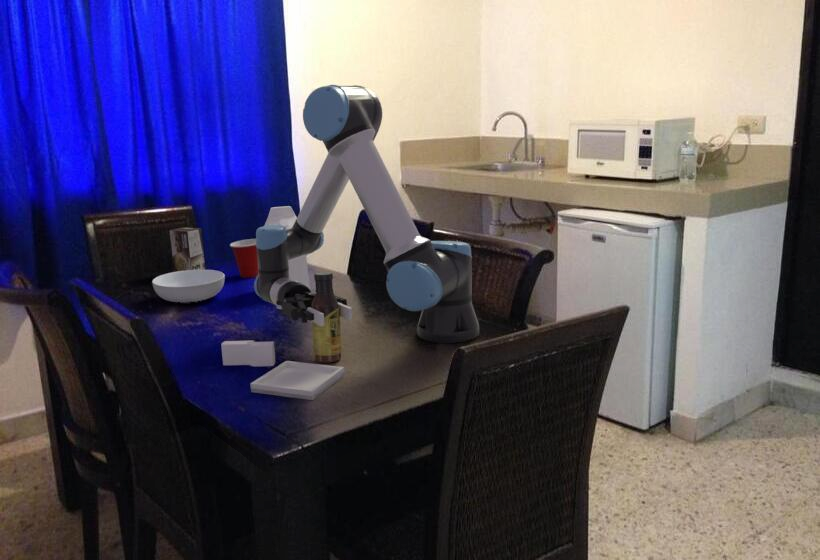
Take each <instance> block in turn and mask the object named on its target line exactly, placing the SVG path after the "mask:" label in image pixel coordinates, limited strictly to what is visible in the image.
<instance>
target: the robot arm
mask: <svg viewBox="0 0 820 560" xmlns="http://www.w3.org/2000/svg"><path fill="white" fill-rule="evenodd" d="M302 119H303V120H302V122H303V124H304V128H305V129H306V131H307V132H308V134H309V135H310V136H311V137H312V138H314V139H316V140H318V141H320V142H322V143H323V145H324V146H325V149H326V150H327V155H326V157H325V160H324V161H323V164H322V165H321V168H320V170H319V171H318V173H317V176H316V178H315V180H314V181H313V184H312V186H311V188H310V190H309V193H308V194H307V196H306V198H305V201H304V203H303V205H302V206H301V209H300V211H299V213H298V216H296V217H297V219H296V221H295V223H294V225H293V227H292V228H291V229H288V230H286V228H285V227H284V226H280V225H270V226H264V225H263V226H260V227H258V228H257V229H256V232H255V236H256V237H255V239H256V247H257V258H258V269H259V271H258V276H256V277H255V280H254V283H253V288H254V292H255V294H256V296H259V298H260V299H262V301H264V302H267V303H271V304H272V305H274V306H276V312H277V313H282V314H283V315H285V316H286V317H288V318H289V319H291V320H293V321H295V322H296V321H298V320H299V319H300V318H301V324H302V323H303V324H305V323H308V321H309V322H311V323H312V322H314V323H316V324H318V325H320V326H325V325H324V313H321V312H319V311H317V310H315V309H313V308H312V301H313V298H314V297H315V295H316V293H313V292H312V290H311V288H310V289H309V288H308V287H307V286H306V285H304V284H302V283H299V282H297V281H295V280H292V279H290V278H289V263H288V260H290V259H293V258H296V257H299V256H303V255H306V256H307V255H310V254H313V253H314V252H316V251H318V250H319V249H320V248H322V247H323V245H324V238H325V235H324V232H323V231H324V229H325V227H326V225H327V223H328V222H329V219H330V218H331V216H332V214H333V211H334V210H335V208H336V206H337V204H338V202H339V200H340V198H341V196H342V194H343V192H344V191H345V188H346V186H347V184H348V182H350V183H351V186H352V187H353V189H354V191H355V193H356V195H357V197H358V199H359V201H360V204H361V205H362V207H363V209H364V211H365V213H366V215H367V217H368V220H369V221H370V223H371V225H372V227H373V229H374V232H375V234H376V235H377V236H378V239H379V241H380V243H381V245H382V247H383V249H384V251H385V257H384V260H383V264H384V267H385V268H386V271H387V275H386V282H385V284H386V290H387V293H388V296H389V297H390V299H391V300H392V301H393V303H395V304H396V305H397V306H398V307H400V308H402V309H403V310H407V311H410V312H421V313H420V317H419V320H418V322H417V336H418V337H419V338H420V339H422V340H424V341H427V342H431V343H437V344H439V343H440V344H455V342H458V343H464V342H467V341H466V340H469V341H472V340H474V339H476V338H478V336H479V335H480V323H479V320H478V318H477V315H476V312H475V311H476V310H475V308H474V305H473V301H472V300H473V298H472V297H473V295H472V291H473V289H472V288H473V286H472V283H473V282H472V280H473V279H472V277H473V276H472V273H473V272H472V268H473V267H472V263H473V262H472V260H473V256H472V248H471V245H470V244H469V243H468V242H467V243H466V242H463V241H453V240H431V239H429V238H427V237H424V236H422V235H421V234H420V233H419V231H418V228H417V226H416V225H415V222H414V220H413V218H412V215H410V212H409V210H408V209H407V206H406V205H405V202H404V200H403V198H402V197H401V194H400V192H399V190H398V189H397V187H396V184H395V183H394V181H393V178H392V177H391V174H390V173H389V170H388V168H387V167H386V164H385V163H384V161H383V158H382V157H381V155H380V152H379V151H378V148H377V146H376V145H375V143H374V141H375V139H376V137H377V135H378V133H379V130H380V127H381V124H382V122H383V107H382V103H381V101H380V99H379V97H378V96H377V94H376V93H375V92H374V91H372V90H370V88H368V87H365V86H362V85H337V84H327V85H324V86H320V87H317V88H315V89H314V90H312V92H311V93H309V94H308V96H307V98H306V100H305V103H304V106H303V109H302ZM335 297H336V300H337V302H338V305H339V308H340V318H343V319H345V320H347V321H353V307H350V306H349V305H348V301H347V300H348V299H346V298H344V297H341V296H338V295H335ZM471 339H472V340H471ZM463 341H464V342H463Z"/></svg>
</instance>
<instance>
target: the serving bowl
mask: <svg viewBox="0 0 820 560" xmlns="http://www.w3.org/2000/svg"><path fill="white" fill-rule="evenodd" d="M225 276H226V275H225V274H224V273H223V272H222V271H219V270H214V269H205V270H186V271H178V272H174V271H172V272H168V273H164V274H160V275H158V276H156V277H155V278H153V279H152V281H151V285H152V287H153V291H155V293H156V294H157V295H158V296H159V297H160V298H161V299H163V300H165V301H167V302H173V303H178V302H180V303H179V304H191V303H190V302H195V303H199V302H198V301H200V302H203V301H206V300H208V299H211V298H213V297H214V296H217V295H218V293H220V292H221V291H222V289H223V288H224V284H225V279H226V277H225ZM202 300H203V301H202Z"/></svg>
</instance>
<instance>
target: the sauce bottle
mask: <svg viewBox="0 0 820 560" xmlns="http://www.w3.org/2000/svg"><path fill="white" fill-rule="evenodd" d="M313 278H314V283H315V294H316V295H315V297H314V298H313V301H312V308H313V309H315V310H317V311H319V312H321V313H324V325H325V326H320V325H318V324H316V323H314V322H312V321H311V328H312V345H313V354H314V360H315V361H316V362H318V363H320V364H321V363H322V364H325V363H326V364H330V363H334V362H337V361H340V360H341V358H342V352H343V351H342V349H343V347H342V345H343V344H342V331H341V330H342V329H341V316H340V308H339V305H338V302H337V300H336V297H335V296H336V295H335V293H334V287H333V278H334V275H333V272H332V271H327V270H326V271H317V272H315V273H314V275H313Z"/></svg>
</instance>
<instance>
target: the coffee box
mask: <svg viewBox="0 0 820 560" xmlns="http://www.w3.org/2000/svg"><path fill="white" fill-rule="evenodd" d="M202 233H203V231H202V228H199V227H196V228H195V227H178V228H174V229H169V237H170V247H171V254H172V255H171V256H172V263H173V272H178V271H186V270H206V265H205V264H206V263H205V255H204V245H203V235H202Z"/></svg>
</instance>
